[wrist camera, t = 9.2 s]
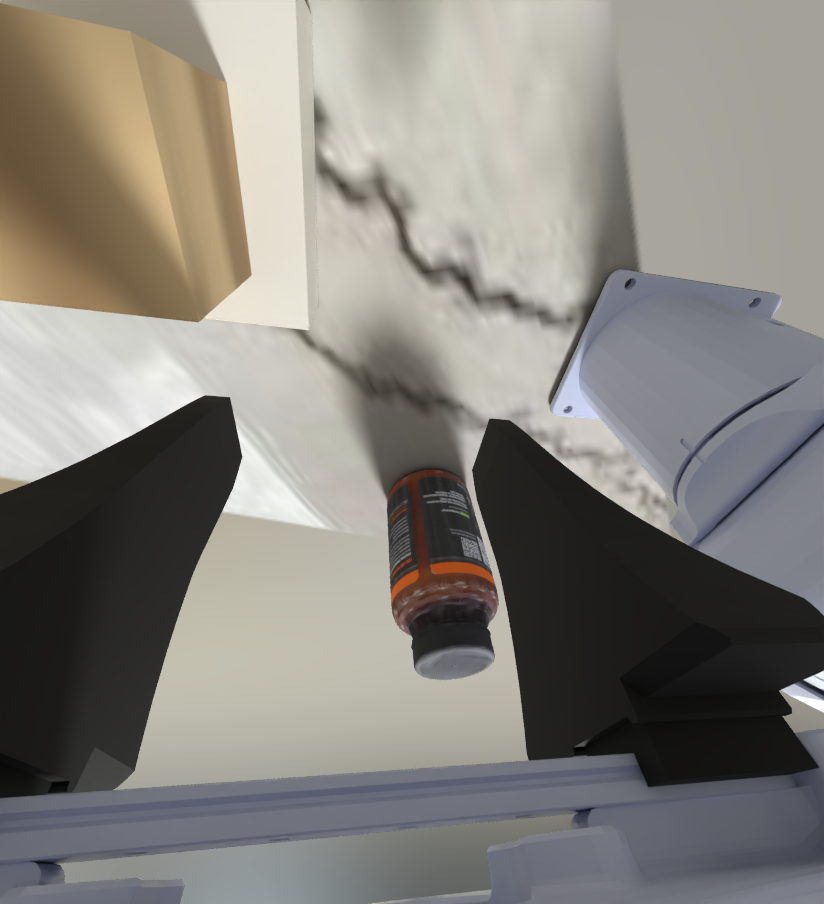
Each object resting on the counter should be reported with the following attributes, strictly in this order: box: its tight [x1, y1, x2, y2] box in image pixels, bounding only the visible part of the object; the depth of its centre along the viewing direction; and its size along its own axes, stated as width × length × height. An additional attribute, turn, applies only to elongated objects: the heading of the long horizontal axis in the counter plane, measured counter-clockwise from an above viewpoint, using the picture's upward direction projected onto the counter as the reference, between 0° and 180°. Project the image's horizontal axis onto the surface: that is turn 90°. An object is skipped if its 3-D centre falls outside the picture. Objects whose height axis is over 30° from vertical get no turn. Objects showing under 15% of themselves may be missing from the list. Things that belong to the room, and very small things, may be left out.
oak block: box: [0, 3, 252, 322], centre depth 9 cm, size 5×5×5 cm
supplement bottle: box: [387, 469, 499, 680], centre depth 21 cm, size 6×6×11 cm
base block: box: [0, 0, 318, 330], centre depth 12 cm, size 9×9×3 cm
